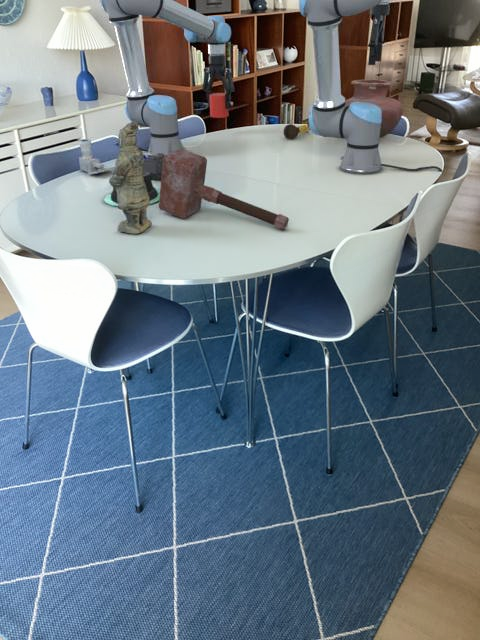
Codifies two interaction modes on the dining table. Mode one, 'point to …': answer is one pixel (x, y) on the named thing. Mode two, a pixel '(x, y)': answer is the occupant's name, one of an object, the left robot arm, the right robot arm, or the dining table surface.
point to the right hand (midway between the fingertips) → (374, 63)
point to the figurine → (295, 130)
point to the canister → (218, 105)
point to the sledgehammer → (200, 190)
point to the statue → (131, 182)
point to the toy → (154, 165)
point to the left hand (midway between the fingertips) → (219, 107)
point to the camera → (90, 159)
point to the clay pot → (378, 102)
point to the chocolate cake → (152, 192)
